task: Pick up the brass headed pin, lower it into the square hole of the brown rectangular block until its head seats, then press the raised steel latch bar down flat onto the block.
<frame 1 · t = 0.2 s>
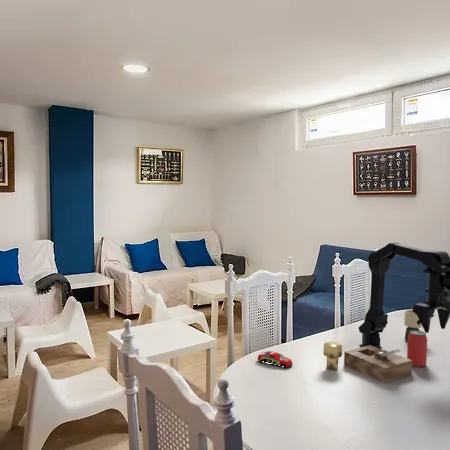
hand: (434, 330, 152), 15 cm above the table, tool pointing down, fingers open, 9 cm apart
beer can: (416, 364, 159), on the table
brown rectangular block: (376, 369, 154), on the table
race car: (274, 364, 159), on the table
character mug: (412, 341, 185), on the table
brass pin: (332, 368, 154), on the table
latch bar: (387, 352, 149), point 8 cm above the table, hinge at 30.0°
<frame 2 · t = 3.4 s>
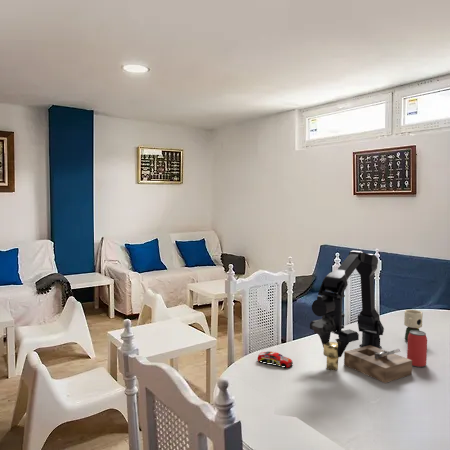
hand: (332, 353, 154), 5 cm above the table, tool pointing down, fingers closed on brass pin, 6 cm apart
brass pin: (332, 368, 154), on the table, touching gripper
everything else where it was.
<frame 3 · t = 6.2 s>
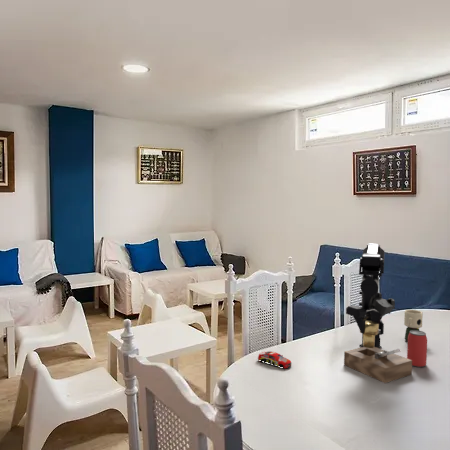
hand: (368, 331, 156), 13 cm above the table, tool pointing down, fingers closed on brass pin, 6 cm apart
brass pin: (368, 346, 157), point 7 cm above the table, touching gripper
when the fingers open (6 cm above the table, at t = 8.8 s): brass pin stays where it is, resting on brown rectangular block.
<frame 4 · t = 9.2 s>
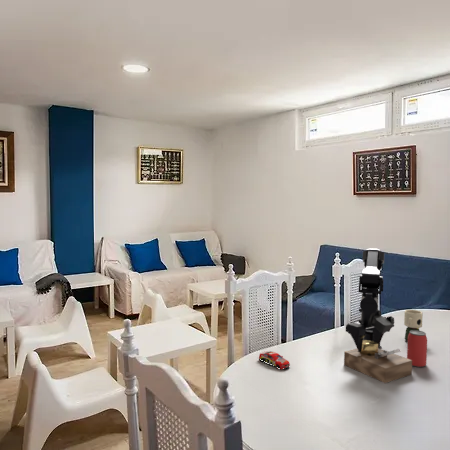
hand: (368, 349, 157), 6 cm above the table, tool pointing down, fingers open, 9 cm apart
brass pin: (368, 365, 157), resting on brown rectangular block
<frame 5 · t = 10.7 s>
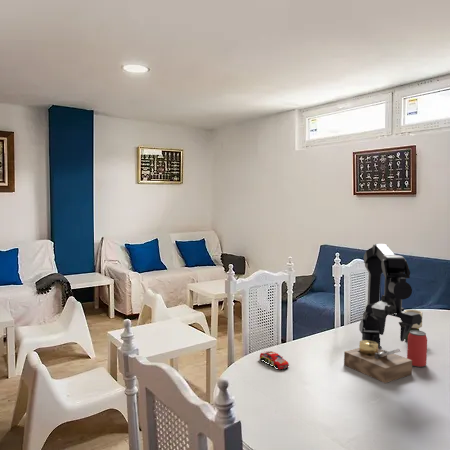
hand: (391, 337, 148), 13 cm above the table, tool pointing down, fingers open, 8 cm apart
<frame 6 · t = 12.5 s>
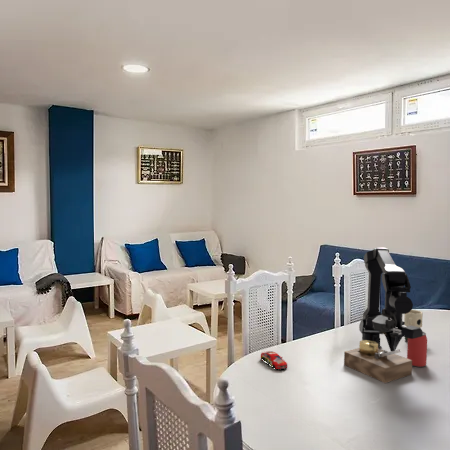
hand: (392, 351, 148), 9 cm above the table, tool pointing down, fingers closed, pressing on latch bar
latch bar: (387, 352, 149), point 7 cm above the table, hinge at 28.6°, touching gripper
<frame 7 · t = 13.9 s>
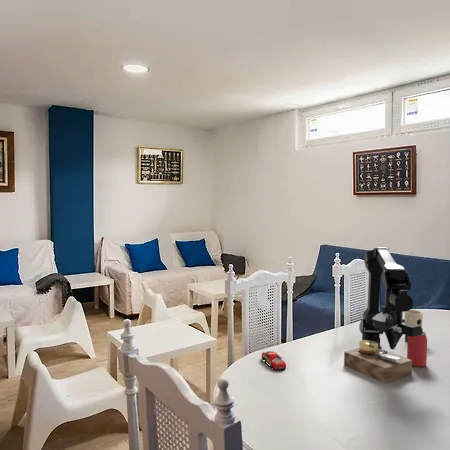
hand: (392, 349, 148), 9 cm above the table, tool pointing down, fingers closed
latch bar: (388, 356, 149), point 6 cm above the table, hinge at 5.9°
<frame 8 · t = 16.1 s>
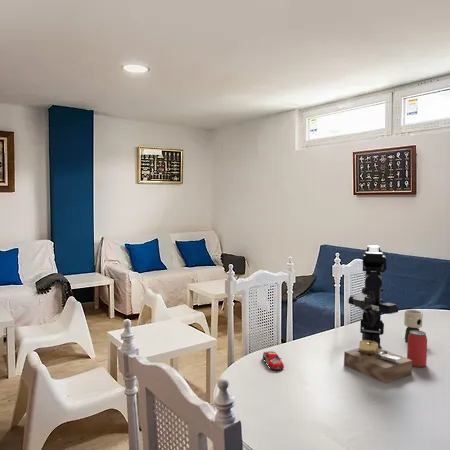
hand: (371, 326, 161), 13 cm above the table, tool pointing down, fingers closed
at the end: brass pin 0.0 cm from the target spot on the brown rectangular block, point 0.0 cm above the brown rectangular block's base; brass pin tilted 0°; latch bar at +6° (first picture: +30°) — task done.
